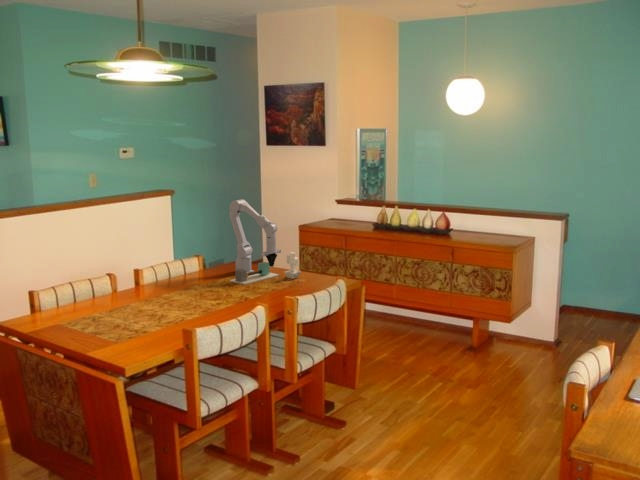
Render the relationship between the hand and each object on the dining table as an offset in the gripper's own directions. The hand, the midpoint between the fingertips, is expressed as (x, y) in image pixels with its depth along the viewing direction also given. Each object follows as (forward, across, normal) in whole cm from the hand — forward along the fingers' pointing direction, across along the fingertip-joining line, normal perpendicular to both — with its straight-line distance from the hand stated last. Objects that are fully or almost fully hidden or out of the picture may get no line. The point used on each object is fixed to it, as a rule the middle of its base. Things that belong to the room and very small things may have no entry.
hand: (271, 266), depth 381 cm
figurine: (+5, +2, -15) cm, 16 cm away
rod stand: (+5, -14, 0) cm, 14 cm away
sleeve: (+3, -7, 0) cm, 7 cm away
